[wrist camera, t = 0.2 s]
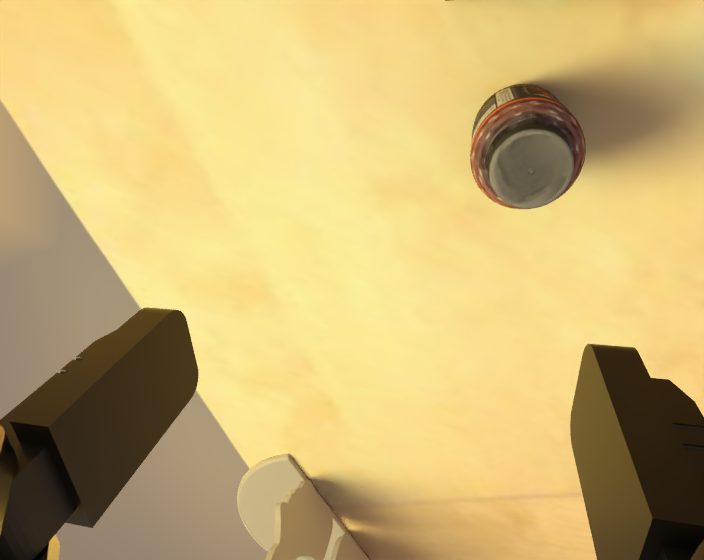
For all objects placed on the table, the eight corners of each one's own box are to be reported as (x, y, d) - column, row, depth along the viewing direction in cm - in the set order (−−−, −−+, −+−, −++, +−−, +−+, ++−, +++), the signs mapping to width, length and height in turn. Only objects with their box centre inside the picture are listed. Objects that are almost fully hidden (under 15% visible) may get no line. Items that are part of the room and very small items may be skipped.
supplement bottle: (583, 120, 33) (628, 163, 23) (517, 188, 36) (532, 251, 26) (515, 62, 32) (531, 80, 22) (454, 136, 35) (444, 181, 25)
